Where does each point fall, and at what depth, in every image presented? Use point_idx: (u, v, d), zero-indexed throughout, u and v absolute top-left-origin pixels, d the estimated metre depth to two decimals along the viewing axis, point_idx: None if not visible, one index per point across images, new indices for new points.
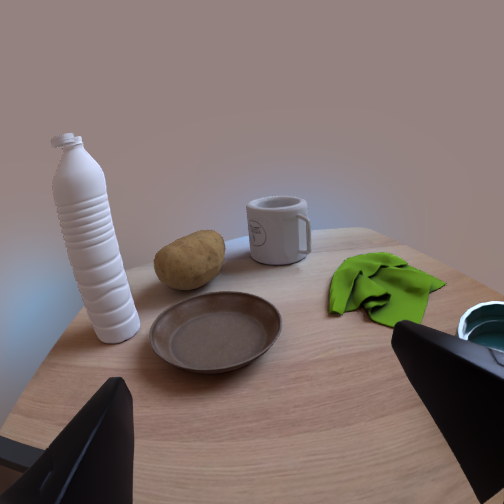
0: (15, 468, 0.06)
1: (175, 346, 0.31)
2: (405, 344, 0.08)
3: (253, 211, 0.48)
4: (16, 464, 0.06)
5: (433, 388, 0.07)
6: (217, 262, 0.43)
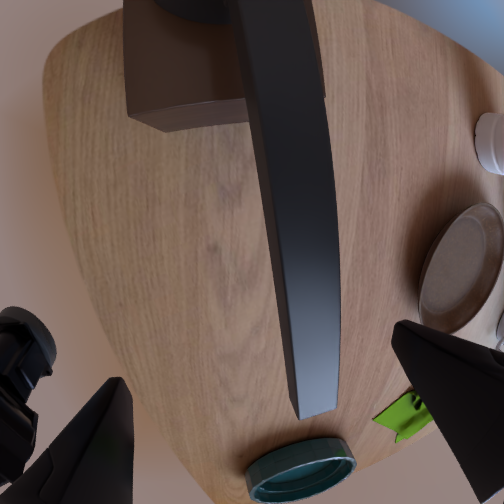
0: (275, 278, 0.06)
1: (461, 223, 0.23)
2: (405, 344, 0.08)
3: None
4: (285, 305, 0.06)
5: (433, 388, 0.07)
6: None
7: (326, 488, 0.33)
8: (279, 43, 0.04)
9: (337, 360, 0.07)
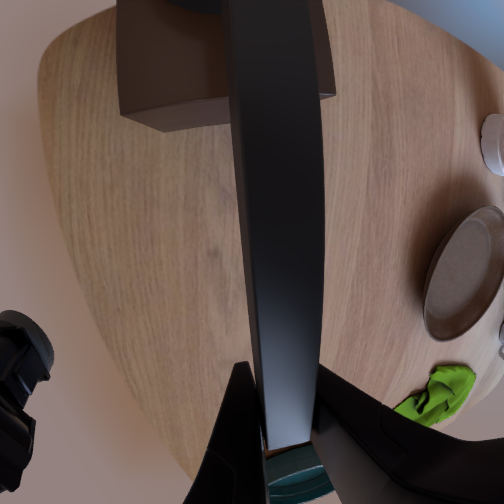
0: (248, 303, 0.05)
1: (466, 226, 0.22)
2: None
3: None
4: (256, 336, 0.05)
5: (317, 435, 0.06)
6: None
7: (327, 492, 0.32)
8: (270, 30, 0.03)
9: (313, 395, 0.06)
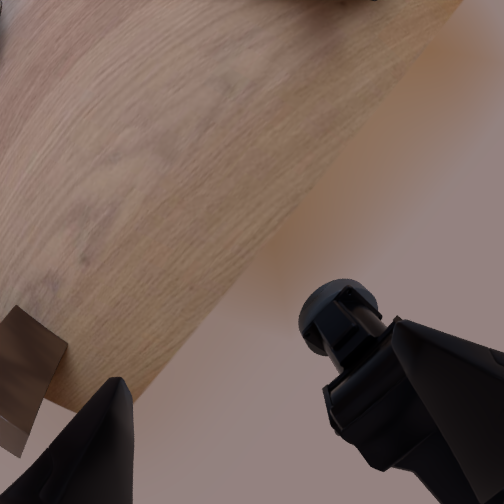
0: None
1: None
2: (405, 344, 0.08)
3: None
4: None
5: (433, 388, 0.07)
6: None
7: None
8: None
9: None
